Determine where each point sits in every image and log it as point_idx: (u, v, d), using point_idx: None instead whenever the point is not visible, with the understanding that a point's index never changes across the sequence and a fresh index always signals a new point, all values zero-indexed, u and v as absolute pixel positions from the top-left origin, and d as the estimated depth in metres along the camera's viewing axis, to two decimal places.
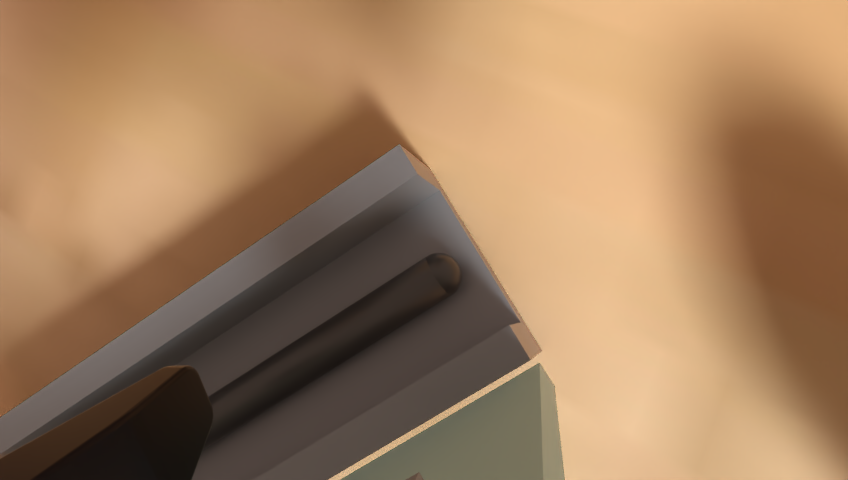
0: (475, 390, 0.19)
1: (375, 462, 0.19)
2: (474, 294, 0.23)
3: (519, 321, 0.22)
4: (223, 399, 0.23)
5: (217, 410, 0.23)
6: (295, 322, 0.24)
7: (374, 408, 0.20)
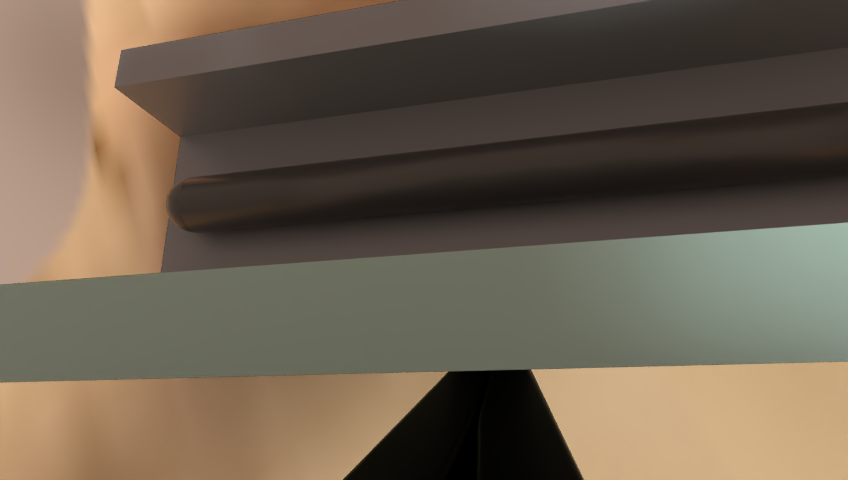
0: None
1: None
2: None
3: None
4: (541, 146, 0.15)
5: (527, 155, 0.15)
6: (670, 113, 0.16)
7: None
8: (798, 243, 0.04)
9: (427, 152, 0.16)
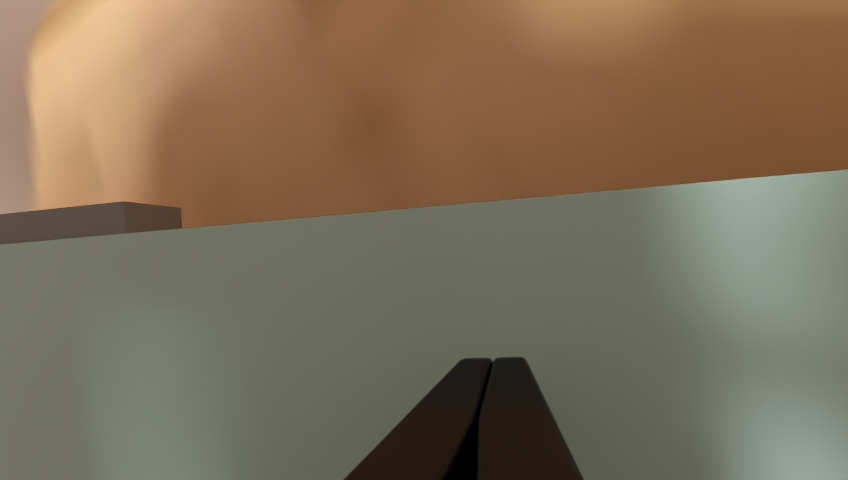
0: None
1: None
2: None
3: None
4: None
5: None
6: None
7: None
8: None
9: None
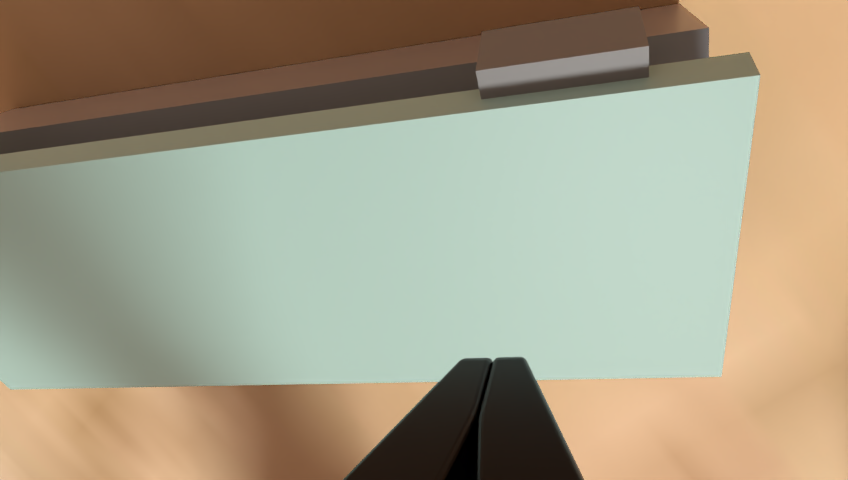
0: None
1: None
2: None
3: None
4: None
5: None
6: None
7: None
8: (295, 116, 0.13)
9: None
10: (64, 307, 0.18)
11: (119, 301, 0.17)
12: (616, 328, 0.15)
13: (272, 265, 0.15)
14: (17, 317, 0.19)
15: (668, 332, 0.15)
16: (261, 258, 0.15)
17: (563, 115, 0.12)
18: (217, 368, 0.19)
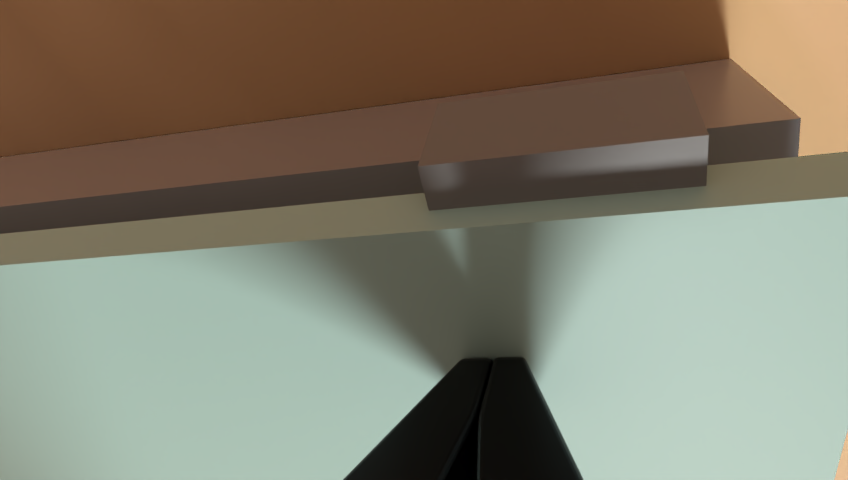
0: None
1: None
2: None
3: None
4: None
5: None
6: None
7: None
8: (153, 223, 0.09)
9: None
10: None
11: None
12: None
13: (137, 428, 0.11)
14: None
15: None
16: (120, 419, 0.10)
17: (562, 243, 0.07)
18: None
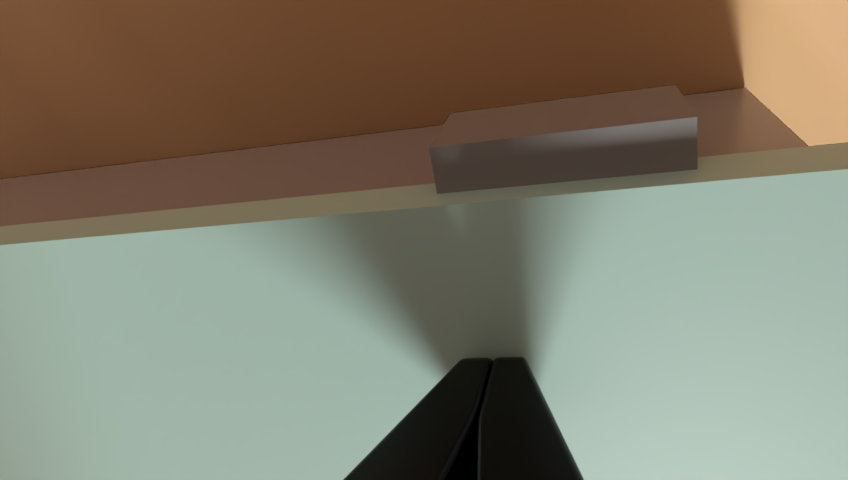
0: None
1: None
2: None
3: None
4: None
5: None
6: None
7: None
8: (176, 211, 0.09)
9: None
10: None
11: None
12: None
13: (129, 436, 0.10)
14: None
15: None
16: (114, 424, 0.10)
17: (561, 220, 0.07)
18: None
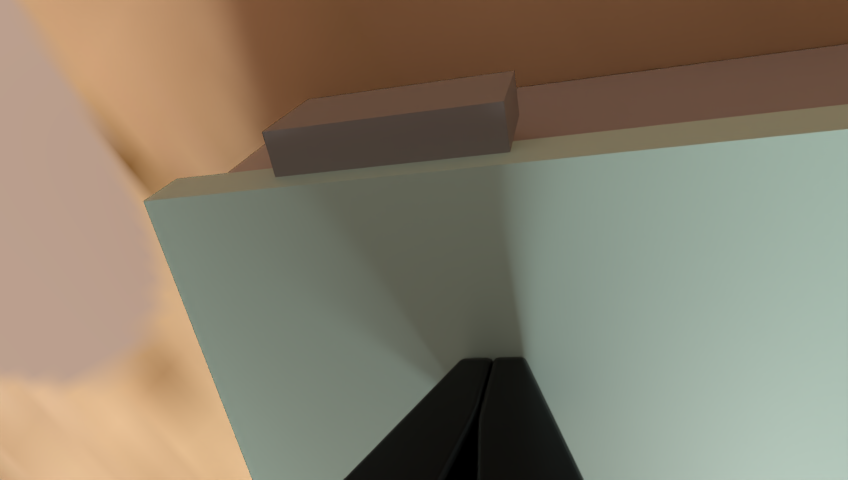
0: None
1: None
2: None
3: None
4: None
5: None
6: None
7: None
8: None
9: None
10: None
11: (723, 470, 0.08)
12: None
13: None
14: None
15: None
16: None
17: None
18: None
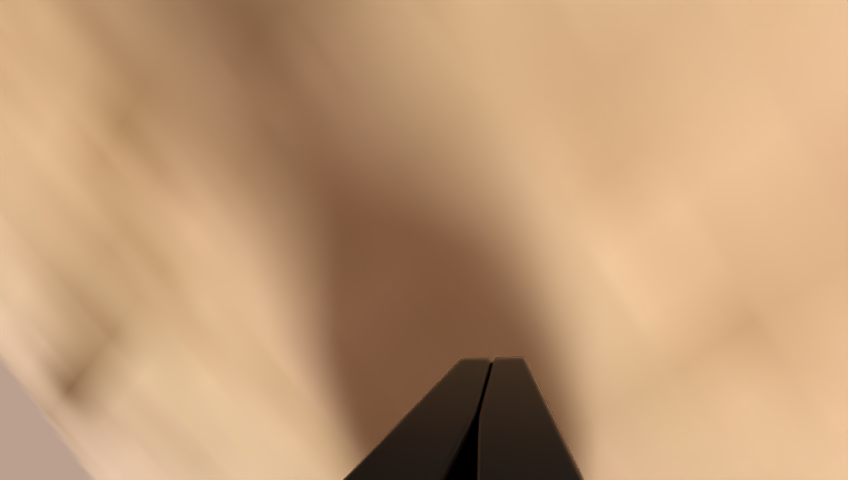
0: None
1: None
2: None
3: None
4: None
5: None
6: None
7: None
8: None
9: None
10: None
11: None
12: None
13: None
14: None
15: None
16: None
17: None
18: None
